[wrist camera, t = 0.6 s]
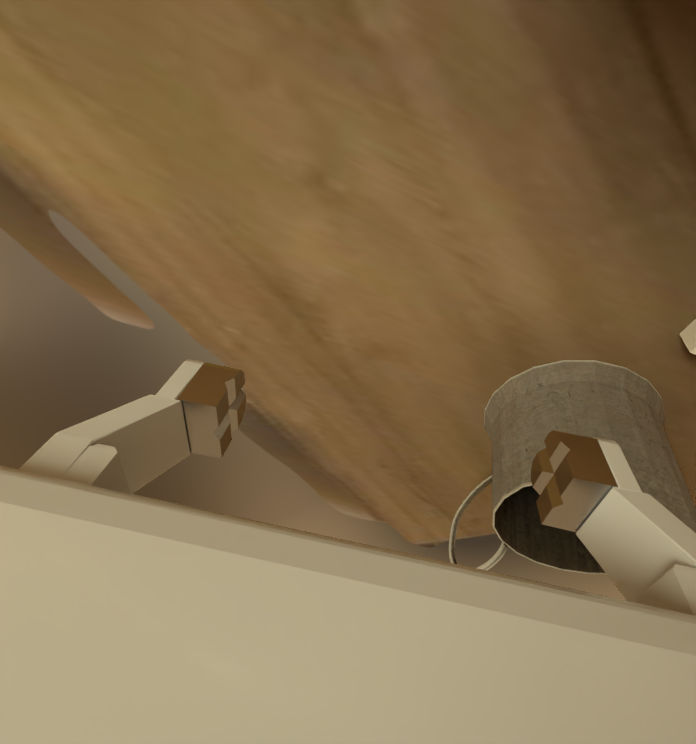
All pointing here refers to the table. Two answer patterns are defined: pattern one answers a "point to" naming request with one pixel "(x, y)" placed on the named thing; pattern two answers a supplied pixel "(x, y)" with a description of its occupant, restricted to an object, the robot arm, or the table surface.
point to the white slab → (690, 337)
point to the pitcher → (582, 417)
